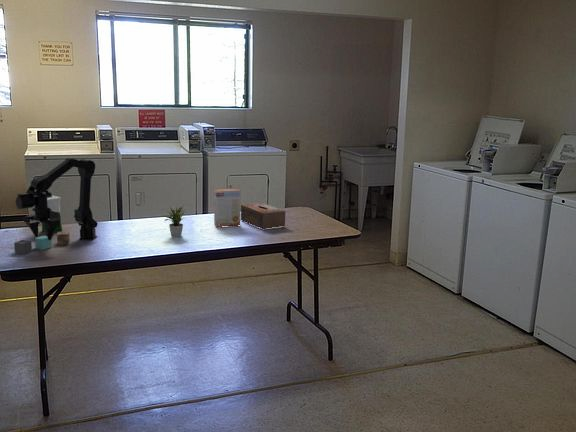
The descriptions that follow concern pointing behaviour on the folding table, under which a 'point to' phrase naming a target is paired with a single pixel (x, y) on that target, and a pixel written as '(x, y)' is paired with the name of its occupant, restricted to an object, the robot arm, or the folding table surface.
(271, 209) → the tissue box cover
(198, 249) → the folding table surface
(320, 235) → the folding table surface
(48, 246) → the teal block
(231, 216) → the cracker box
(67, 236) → the walnut block
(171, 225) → the house plant
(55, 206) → the milk carton
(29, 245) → the charcoal block
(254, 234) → the folding table surface
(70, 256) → the folding table surface
